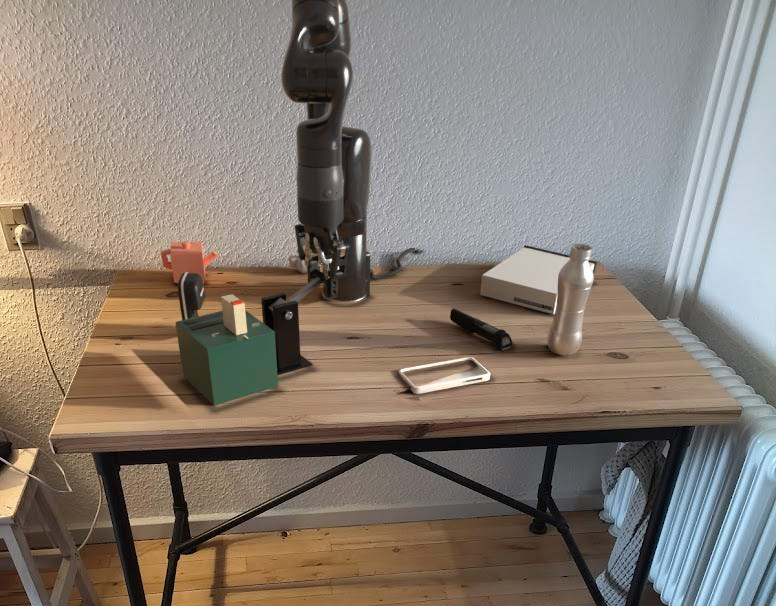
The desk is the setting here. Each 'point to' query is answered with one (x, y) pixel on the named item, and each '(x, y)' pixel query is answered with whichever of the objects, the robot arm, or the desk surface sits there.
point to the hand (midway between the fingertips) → (322, 292)
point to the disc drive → (527, 279)
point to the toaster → (228, 358)
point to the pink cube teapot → (187, 259)
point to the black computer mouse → (190, 294)
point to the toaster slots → (205, 319)
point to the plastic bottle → (571, 301)
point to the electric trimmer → (481, 329)
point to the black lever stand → (284, 333)
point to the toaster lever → (303, 289)
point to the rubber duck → (297, 263)
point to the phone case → (449, 377)
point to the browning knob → (234, 314)
